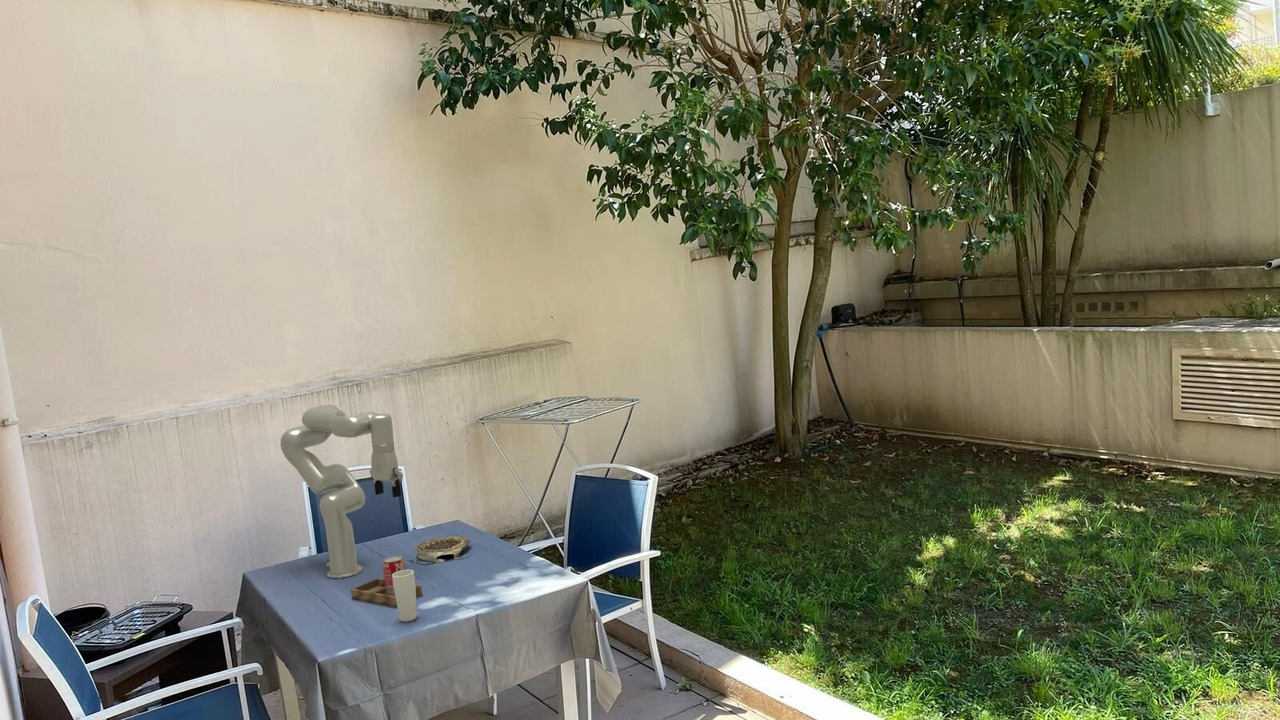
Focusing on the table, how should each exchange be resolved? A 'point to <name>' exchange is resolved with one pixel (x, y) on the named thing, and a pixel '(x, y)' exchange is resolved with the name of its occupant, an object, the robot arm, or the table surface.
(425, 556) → the pie
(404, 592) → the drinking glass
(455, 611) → the table surface
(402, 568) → the soda can
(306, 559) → the table surface
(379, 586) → the wooden compartment tray
